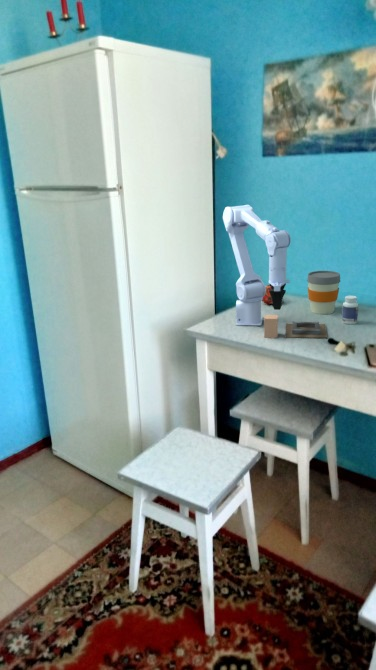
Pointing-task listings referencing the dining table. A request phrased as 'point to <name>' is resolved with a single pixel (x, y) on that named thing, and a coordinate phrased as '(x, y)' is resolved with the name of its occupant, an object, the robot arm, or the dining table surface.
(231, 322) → the dining table surface
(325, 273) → the reusable coffee cup
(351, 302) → the pill bottle
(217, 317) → the dining table surface
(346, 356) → the dining table surface
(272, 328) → the beige upright block
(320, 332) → the socket board
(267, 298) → the dragon fruit
